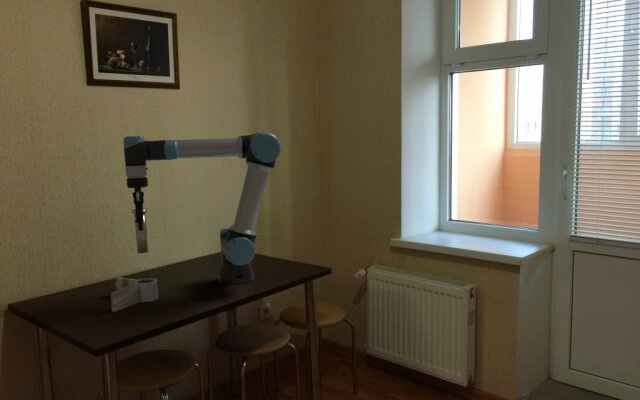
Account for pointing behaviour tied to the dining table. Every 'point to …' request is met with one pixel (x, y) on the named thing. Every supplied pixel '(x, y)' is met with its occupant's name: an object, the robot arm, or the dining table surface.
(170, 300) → the dining table surface
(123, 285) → the hinge leaves
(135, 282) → the knuckle barrel
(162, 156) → the robot arm
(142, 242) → the hinge pin
